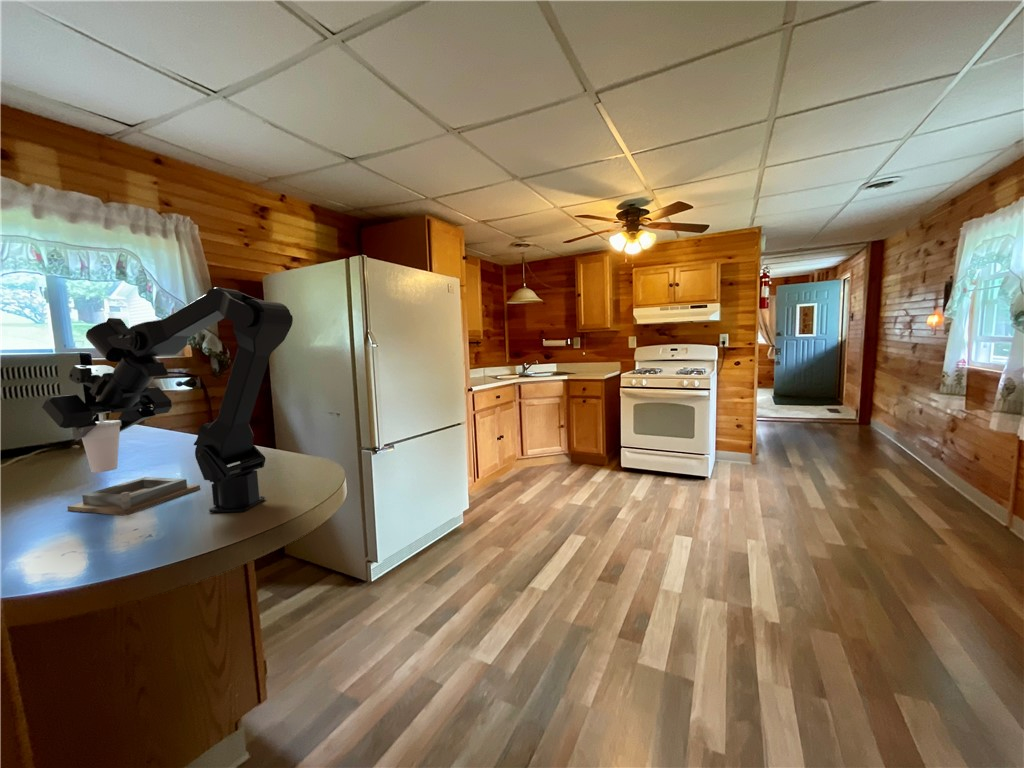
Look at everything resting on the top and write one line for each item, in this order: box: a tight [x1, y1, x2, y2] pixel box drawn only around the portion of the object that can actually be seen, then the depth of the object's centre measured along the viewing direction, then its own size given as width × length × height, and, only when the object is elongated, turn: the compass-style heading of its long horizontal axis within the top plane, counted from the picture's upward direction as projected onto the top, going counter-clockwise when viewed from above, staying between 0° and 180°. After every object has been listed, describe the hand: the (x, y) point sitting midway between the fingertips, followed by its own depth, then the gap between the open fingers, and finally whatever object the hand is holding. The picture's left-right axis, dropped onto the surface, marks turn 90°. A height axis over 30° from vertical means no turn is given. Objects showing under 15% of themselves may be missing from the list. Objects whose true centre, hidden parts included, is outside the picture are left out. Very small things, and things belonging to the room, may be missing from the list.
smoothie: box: [81, 413, 122, 474], centre depth 83 cm, size 6×6×14 cm
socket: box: [67, 476, 201, 516], centre depth 82 cm, size 14×14×4 cm
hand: (96, 434), depth 83 cm, fingers closed on smoothie, 6 cm apart
